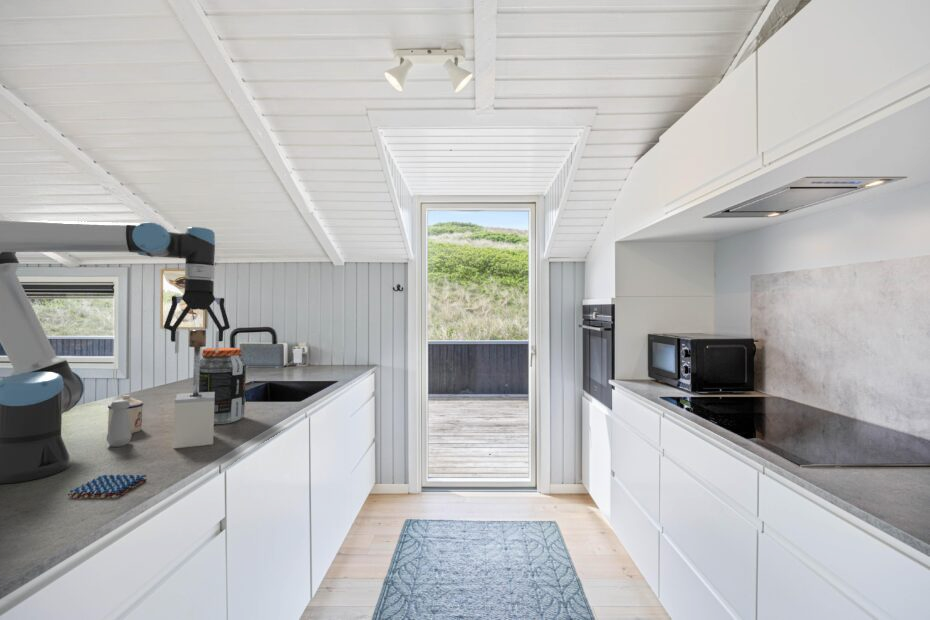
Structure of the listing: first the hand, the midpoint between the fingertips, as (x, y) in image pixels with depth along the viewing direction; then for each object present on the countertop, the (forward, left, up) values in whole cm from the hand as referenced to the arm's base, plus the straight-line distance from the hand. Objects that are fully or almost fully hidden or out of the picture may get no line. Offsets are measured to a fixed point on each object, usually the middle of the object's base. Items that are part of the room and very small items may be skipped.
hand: (197, 352), depth 134 cm
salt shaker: (-19, +5, -27) cm, 34 cm away
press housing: (0, 0, -27) cm, 27 cm away
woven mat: (-15, -32, -28) cm, 45 cm away
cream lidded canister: (-20, +22, -27) cm, 40 cm away
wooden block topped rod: (0, 0, -17) cm, 17 cm away
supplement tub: (+7, +25, -27) cm, 38 cm away
